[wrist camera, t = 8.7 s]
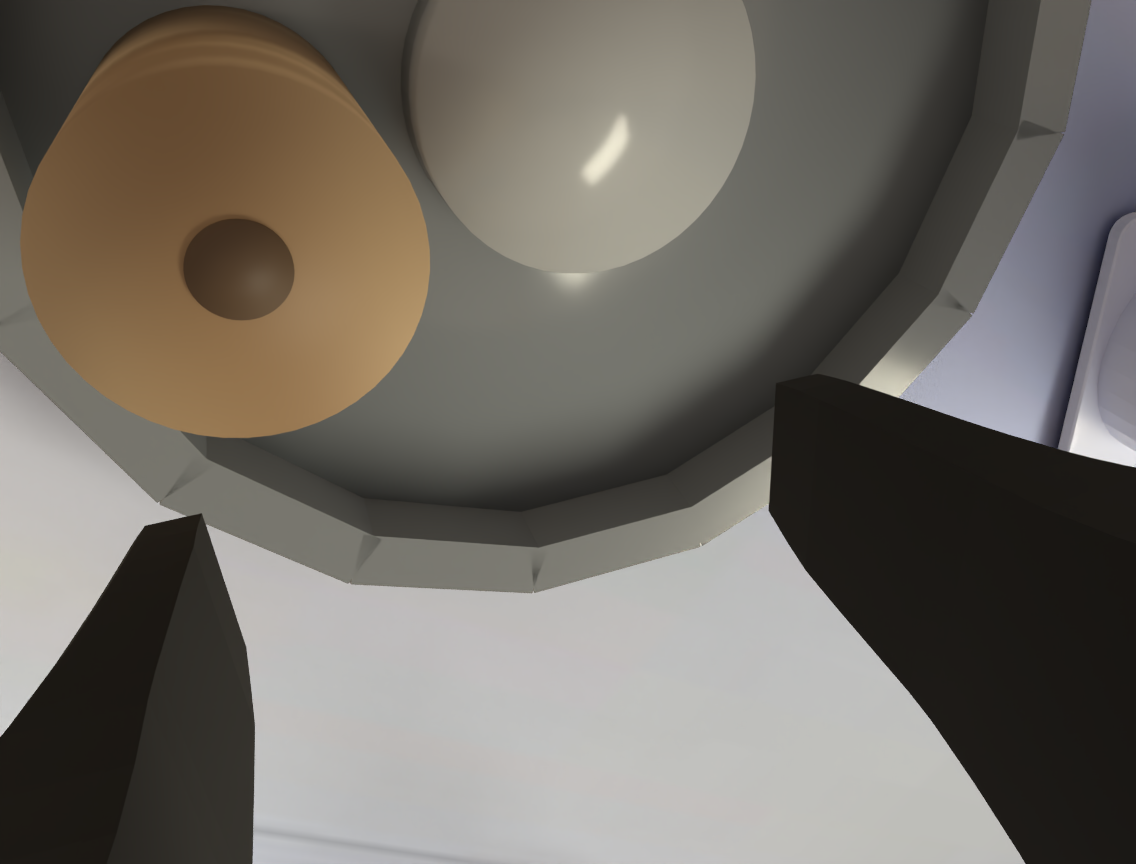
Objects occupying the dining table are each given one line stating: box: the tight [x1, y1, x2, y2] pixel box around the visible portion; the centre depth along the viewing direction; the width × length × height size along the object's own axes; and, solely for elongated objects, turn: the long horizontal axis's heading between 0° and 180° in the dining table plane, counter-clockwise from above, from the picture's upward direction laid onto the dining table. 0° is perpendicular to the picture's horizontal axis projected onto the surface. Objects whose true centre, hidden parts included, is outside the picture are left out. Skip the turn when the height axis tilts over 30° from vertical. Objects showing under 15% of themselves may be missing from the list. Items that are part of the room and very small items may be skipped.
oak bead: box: [20, 5, 430, 438], centre depth 13 cm, size 4×4×6 cm
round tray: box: [0, 0, 1091, 593], centre depth 17 cm, size 20×20×2 cm
